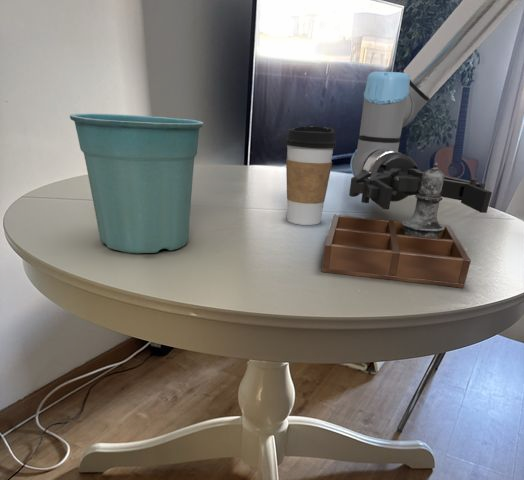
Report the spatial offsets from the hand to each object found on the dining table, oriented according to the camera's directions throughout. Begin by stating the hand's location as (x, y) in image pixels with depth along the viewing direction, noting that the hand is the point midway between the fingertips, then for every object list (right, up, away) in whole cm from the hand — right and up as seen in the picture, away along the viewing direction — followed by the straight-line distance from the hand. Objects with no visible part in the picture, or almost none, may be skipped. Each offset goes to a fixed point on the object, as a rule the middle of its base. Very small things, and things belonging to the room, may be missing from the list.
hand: (437, 200), depth 64 cm
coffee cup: (-16, +3, +21) cm, 26 cm away
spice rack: (-6, -7, +3) cm, 10 cm away
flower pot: (-40, -5, +5) cm, 41 cm away
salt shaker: (-1, -5, +6) cm, 8 cm away
